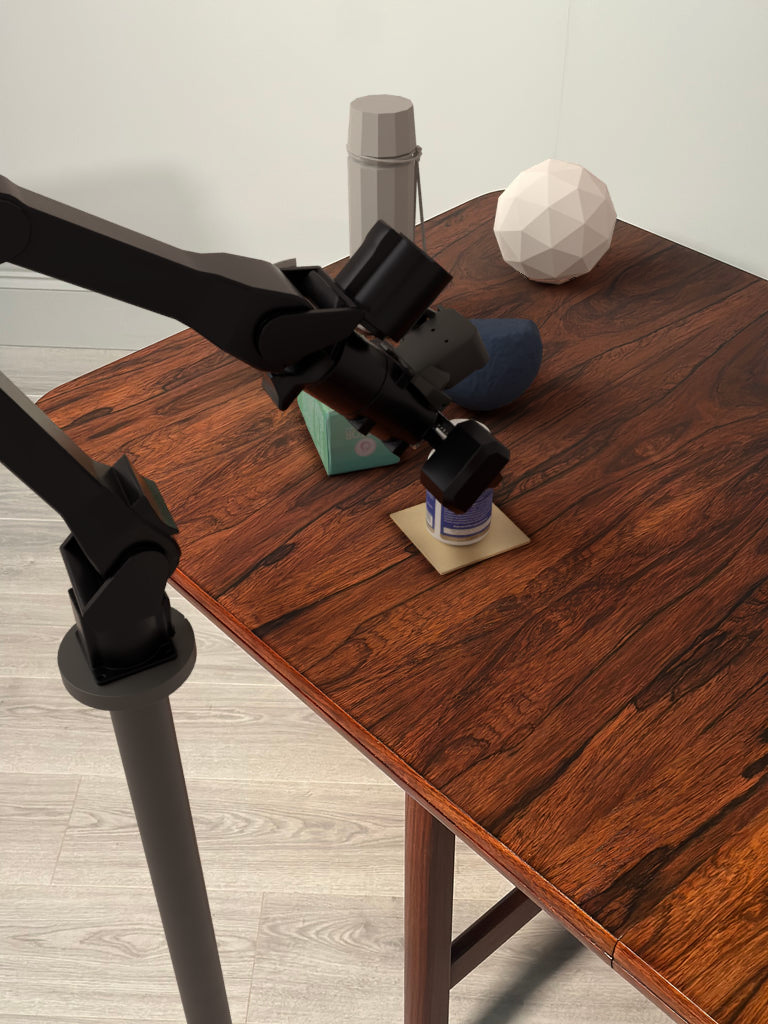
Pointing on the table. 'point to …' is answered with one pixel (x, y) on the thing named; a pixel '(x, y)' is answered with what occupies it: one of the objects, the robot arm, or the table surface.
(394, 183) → the water bottle
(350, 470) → the box
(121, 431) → the table surface
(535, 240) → the geometric sphere
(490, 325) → the decorative stone
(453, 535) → the pill bottle
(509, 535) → the sticky note
